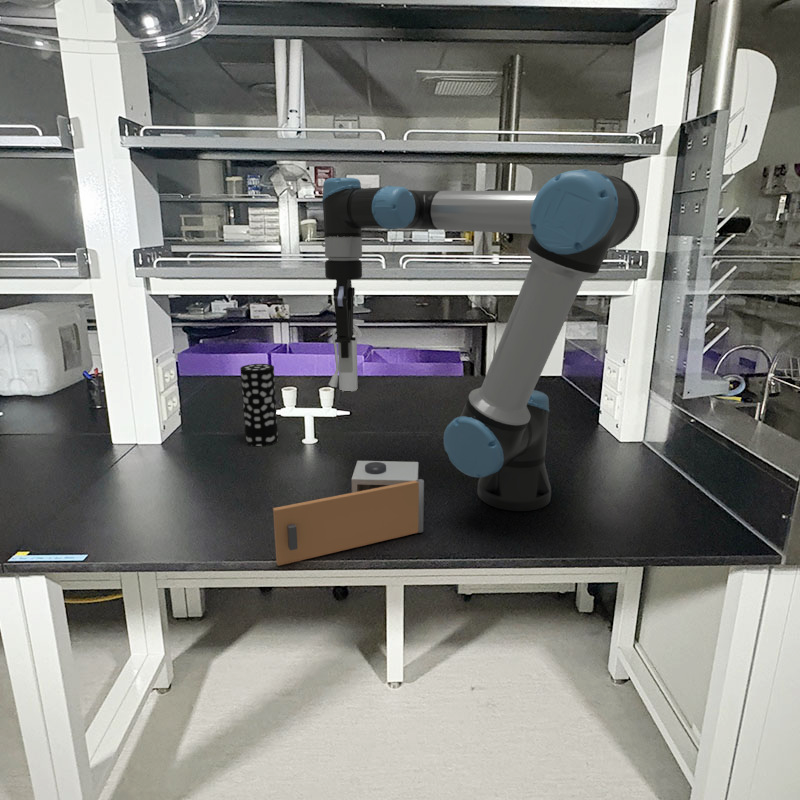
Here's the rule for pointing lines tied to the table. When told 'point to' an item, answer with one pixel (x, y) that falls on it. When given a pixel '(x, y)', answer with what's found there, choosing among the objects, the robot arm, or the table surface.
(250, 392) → the spotted tube
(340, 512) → the side door
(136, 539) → the table surface
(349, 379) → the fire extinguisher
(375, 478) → the cabinet housing
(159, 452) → the table surface
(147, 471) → the table surface
